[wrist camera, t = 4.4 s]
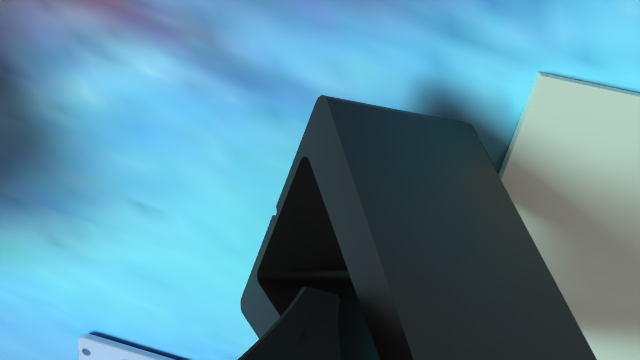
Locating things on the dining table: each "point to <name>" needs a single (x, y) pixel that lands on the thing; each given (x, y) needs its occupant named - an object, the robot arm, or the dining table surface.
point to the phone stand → (408, 244)
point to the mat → (583, 202)
